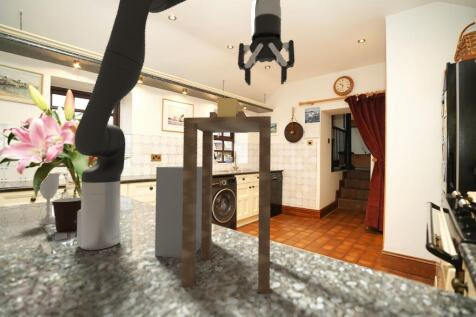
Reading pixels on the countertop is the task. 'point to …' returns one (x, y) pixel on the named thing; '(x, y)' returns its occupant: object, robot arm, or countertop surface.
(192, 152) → the stool
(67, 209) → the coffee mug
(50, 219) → the chalice
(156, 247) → the block
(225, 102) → the yellow bar
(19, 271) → the countertop surface
